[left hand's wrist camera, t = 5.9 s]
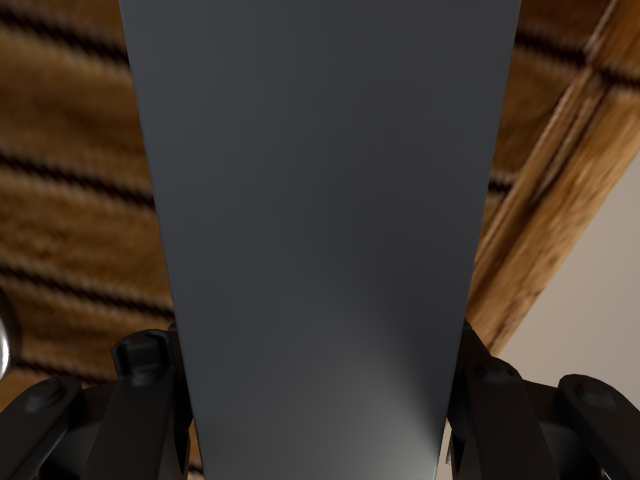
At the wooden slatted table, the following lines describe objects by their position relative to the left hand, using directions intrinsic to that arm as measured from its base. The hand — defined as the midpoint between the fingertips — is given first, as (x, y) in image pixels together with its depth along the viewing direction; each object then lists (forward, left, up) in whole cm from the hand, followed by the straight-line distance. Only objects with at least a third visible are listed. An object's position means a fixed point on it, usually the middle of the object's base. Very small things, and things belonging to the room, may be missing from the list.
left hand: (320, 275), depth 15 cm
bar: (-2, +9, -1) cm, 9 cm away
